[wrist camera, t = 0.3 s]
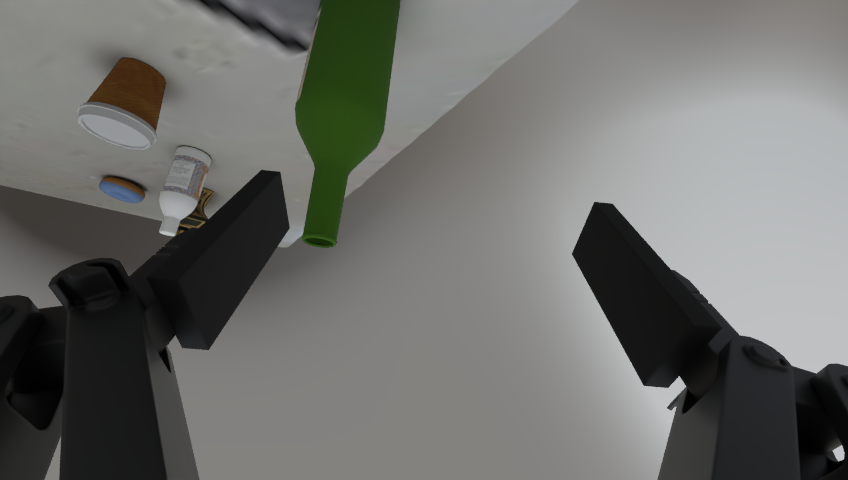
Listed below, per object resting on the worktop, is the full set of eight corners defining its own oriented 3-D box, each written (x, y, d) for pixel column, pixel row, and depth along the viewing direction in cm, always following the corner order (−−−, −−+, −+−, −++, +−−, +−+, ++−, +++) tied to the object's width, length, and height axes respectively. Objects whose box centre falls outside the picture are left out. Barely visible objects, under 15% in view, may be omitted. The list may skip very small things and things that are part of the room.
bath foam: (208, 165, 83) (183, 241, 76) (174, 153, 79) (145, 232, 72) (215, 154, 78) (189, 235, 71) (179, 141, 74) (148, 225, 67)
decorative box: (177, 177, 90) (153, 246, 83) (218, 190, 96) (198, 256, 89) (169, 199, 104) (148, 260, 98) (205, 209, 110) (187, 267, 103)
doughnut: (101, 181, 96) (94, 196, 94) (103, 170, 89) (97, 185, 87) (144, 194, 102) (139, 208, 101) (150, 184, 95) (144, 199, 94)
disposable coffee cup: (189, 97, 61) (167, 154, 56) (134, 91, 60) (108, 148, 56) (152, 52, 52) (124, 115, 48) (88, 45, 51) (53, 108, 47)
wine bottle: (317, -54, 37) (245, 219, 26) (399, -48, 37) (361, 228, 26) (335, 23, 45) (286, 254, 34) (402, 28, 45) (374, 260, 34)
